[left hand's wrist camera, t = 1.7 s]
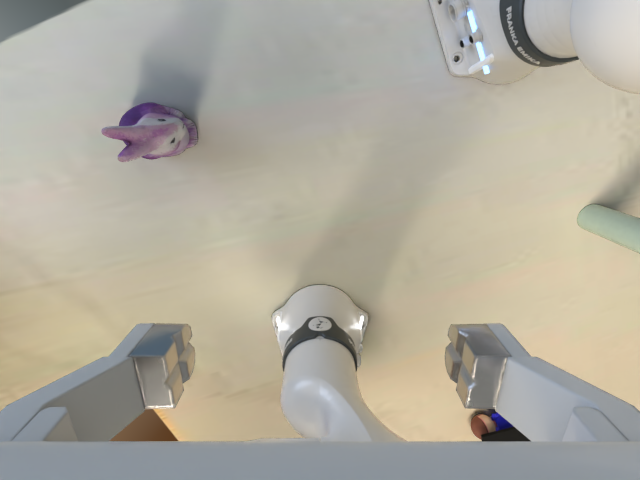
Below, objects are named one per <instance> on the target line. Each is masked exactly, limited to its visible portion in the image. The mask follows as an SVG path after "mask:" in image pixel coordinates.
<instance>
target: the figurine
mask: <svg viewBox="0 0 640 480" xmlns="http://www.w3.org/2000/svg"><path fill="white" fill-rule="evenodd" d="M102 134H103V135H105V136H107V137H109V138H113V139H119V140H123V141H124V143H125V144H126V145H127V146H126V147H125V148H124V149H123V150H122V151H121V153H120V154H119V155H118V160H119V161H121V162H126V161H127V162H129V161H132V160H136V159H137V158H140V157H143V158H146V159H157V158H160V157H166V156H174V155H178V154H181V153H182V152H184V151H185V149H186V148H190V147H193V146H195V145H196V144H197V141H198V139H197V130H196V126H195V124H194V122H192V121H191V120H189V119H187V118H185V116H184V114H183V113H182V112H180V111H179V110H176V109H173V108H170V107H166V106H162V105H159V104H156V103H143V104H140V105H137V106H135V107H133V108H132V109H130V110H128V111H127V112H126V113H125V114H124V115H123V116H122V118H121V120H120V123H119V126H111V127H105V128H103V129H102Z"/></svg>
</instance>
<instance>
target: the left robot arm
mask: <svg viewBox="0 0 640 480" xmlns="http://www.w3.org/2000/svg"><path fill="white" fill-rule="evenodd" d="M272 323H273V326H274V330H275V333H276V337H277V340H278V343H279V347H280V350H281V354H282V357H283V359H282V360H283V371H284V376H283V383H282V390H281V398H280V402H281V408H282V411H283V414H284V416H285V418H286V419H287V421H288V422H289V424H290V425H291V427H292V428H293V429H294V430H295V431H296V432H297V433H298V434H300V435H301V436H303V437H304V438H260V439H255V440H250V441H173V442H172V441H169V442H168V441H167V442H165V441H164V442H163V441H161V442H156V441H155V442H154V441H153V442H128V441H110V440H111V439H112V438H113V437H114V436H116V435H117V434H118V433H119V432H120V431H121V430H123V429H124V428H125V427H126V426H127V425H129V424H130V423H131V422H132V421H133V420H134V419H136V418H137V417H138V416H139V415H140V414H142V413H143V412H144V411H145V409H165V408H175V407H176V405H177V403H178V401H179V399H180V397H181V395H182V393H183V391H184V388H183V383H184V382H186V381H187V380H189V379H190V377H191V375H192V372H193V369H194V364H195V350H194V347H193V346H192V345H191V344H190V343H189V341H190V339H191V337H192V332H191V327H190V326H189V325H188V324H164V323H157V324H155V323H140V324H137V325H136V326H135V327H134V328H133V329H132V331H131V332H130V333H129V334H128V335H127V336H126V337H125V339H124V340H123V341H122V342H121V343H120V344H119V345H118V346H117V348H116V349H115V350H114V351H113V352H112V353H111V354H110V356H109V357H102V358H100V359H98V360H96V361H94V362H92V363H90V364H88V365H86V366H84V367H82V368H80V369H78V370H76V371H74V372H72V373H70V374H68V375H66V376H64V377H62V378H60V379H58V380H56V381H54V382H52V383H50V384H49V385H47V386H45V387H43V388H41V389H39V390H37V391H35V392H33V393H31V394H29V395H27V396H25V397H23V398H21V399H19V400H17V401H15V402H13V403H11V404H9V405H7V406H6V407H5V408H4V409H3V410H2V411H1V412H0V480H640V411H639V410H638V409H636V408H635V407H634V406H633V405H631V404H629V403H627V402H625V401H623V400H621V399H619V398H617V397H615V396H613V395H611V394H609V393H607V392H605V391H603V390H601V389H599V388H597V387H595V386H593V385H591V384H589V383H587V382H585V381H583V380H581V379H579V378H578V377H576V376H574V375H572V374H570V373H568V372H566V371H564V370H562V369H560V368H558V367H556V366H554V365H552V364H550V363H548V362H546V361H544V360H542V359H540V358H538V357H531V356H530V354H529V353H528V352H527V351H526V350H525V349H524V348H523V347H522V345H521V344H520V343H519V342H518V341H517V340H516V339H515V337H514V336H513V335H512V334H511V333H510V332H509V331H508V329H507V328H506V327H505V326H504V325H503V324H500V323H486V324H451V326H450V328H449V331H448V337H449V339H450V341H451V343H450V344H449V345H448V346H447V347H446V350H445V365H446V369H447V372H448V375H449V377H450V379H451V380H453V381H454V382H456V383H457V388H456V391H457V393H458V395H459V397H460V399H461V401H462V403H463V405H464V407H465V408H475V409H495V411H496V412H497V413H499V414H500V415H501V416H502V417H503V418H504V419H506V420H507V421H508V422H509V423H510V424H512V425H513V426H514V427H515V428H516V429H517V430H519V431H520V432H521V433H522V434H523V435H525V436H526V437H527V438H528V439H529V440H530V441H457V442H408V441H406V440H405V439H403V438H401V437H400V436H398V435H397V434H395V433H394V432H392V431H391V430H390V429H389V428H387V427H386V426H385V425H384V424H383V423H382V422H381V421H380V420H379V419H378V418H377V417H376V416H375V415H374V414H373V413H372V412H371V410H370V409H369V408H368V406H367V405H366V403H365V402H364V400H363V398H362V395H361V392H360V388H359V384H358V380H357V375H356V371H357V367H358V368H359V367H360V365H361V356H360V355H358V354H359V352H362V348H363V347H362V345H361V344H362V340H363V337H364V333H365V330H366V326H367V323H368V314H367V313H366V312H365V311H363V310H362V309H360V308H358V307H357V306H356V305H355V304H354V303H353V301H352V300H351V299H350V297H349V296H348V295H347V294H345V293H344V292H343V291H341V290H339V289H337V288H335V287H332V286H327V285H313V286H308V287H305V288H303V289H301V290H299V291H297V292H296V293H295V294H293V295H292V296H291V297H290V299H289V300H288V301H287V303H286V304H285V305H284V306H283V307H282V308H280V309H278V310H277V311H275V312H274V313H273V314H272Z"/></svg>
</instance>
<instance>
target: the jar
mask: <svg viewBox="0 0 640 480" xmlns="http://www.w3.org/2000/svg"><path fill="white" fill-rule="evenodd" d="M577 222H578V225H579V226H580V227H581V228H583V229H585V230H587V231H589V232H592V233H594V234H596V235H599V236H601V237H603V238H605V239H608V240H610V241H612V242H614V243H617V244H619V245H621V246H624V247H626V248H628V249H630V250H633V251H635V252H637V253H640V218H637V217H634V216H631V215H628V214H625V213H622V212H619V211H616V210H613V209H610V208H607V207H604V206H601V205H598V204H592V205H588V206H586V207H585V208H583V209H582V210H581V212H580V213H579V215H578V218H577Z"/></svg>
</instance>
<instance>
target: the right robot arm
mask: <svg viewBox="0 0 640 480" xmlns="http://www.w3.org/2000/svg"><path fill="white" fill-rule="evenodd" d="M438 1H439V2H440V4H438ZM429 3H430V6H431V10H432V13H433V17H434V20H435V24H436V27H437V31H438V34H439V38H440V41H441V45H442V48H443V52H444V55H445V59H446V62H447V66H448V69H449V72H450V74H451V75H453V76H456V77H474V78H477V79H479V80H481V81H483V82H486V83H490V84H508V83H512V82H515V81H517V80H520V79H522V78H524V77H525V76H527V75H528V74H530V73H531V72H532V71H534V70H535V69H537V68H539V67H549V66H555V65H562V64H566V63H570V62H573V61H575V60H578V59H579V60H580V61H581V63H582V64H583V65H584V67H585V68H586V69H587V70H588V71H589V72H590V73H591V74H592V75H593V76H594V77H596V78H597V79H598V80H600V81H602V82H603V83H605V84H607V85H609V86H611V87H613V88H616V89H619V90H622V91H626V92H630V93H634V94H640V0H429ZM455 56H457V57H458V61H457V62H455V61H454V57H455Z"/></svg>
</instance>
